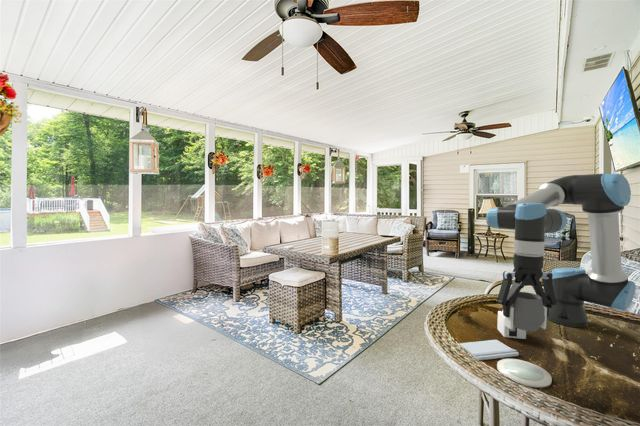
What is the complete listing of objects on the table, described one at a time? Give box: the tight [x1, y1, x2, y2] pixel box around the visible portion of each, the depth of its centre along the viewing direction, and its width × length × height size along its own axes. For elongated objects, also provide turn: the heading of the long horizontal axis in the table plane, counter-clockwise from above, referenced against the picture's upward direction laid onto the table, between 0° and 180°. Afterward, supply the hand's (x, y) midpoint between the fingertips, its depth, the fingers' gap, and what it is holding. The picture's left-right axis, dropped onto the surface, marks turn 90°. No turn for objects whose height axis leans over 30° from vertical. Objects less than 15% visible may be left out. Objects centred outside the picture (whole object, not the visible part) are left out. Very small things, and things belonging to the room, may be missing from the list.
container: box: [496, 308, 527, 340], centre depth 122 cm, size 8×8×13 cm
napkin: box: [458, 339, 520, 361], centre depth 109 cm, size 16×10×1 cm, turn 102°
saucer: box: [496, 358, 553, 388], centre depth 95 cm, size 14×14×1 cm
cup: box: [511, 291, 545, 332], centre depth 94 cm, size 10×9×10 cm
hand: (525, 327), depth 94 cm, fingers closed on cup, 9 cm apart
